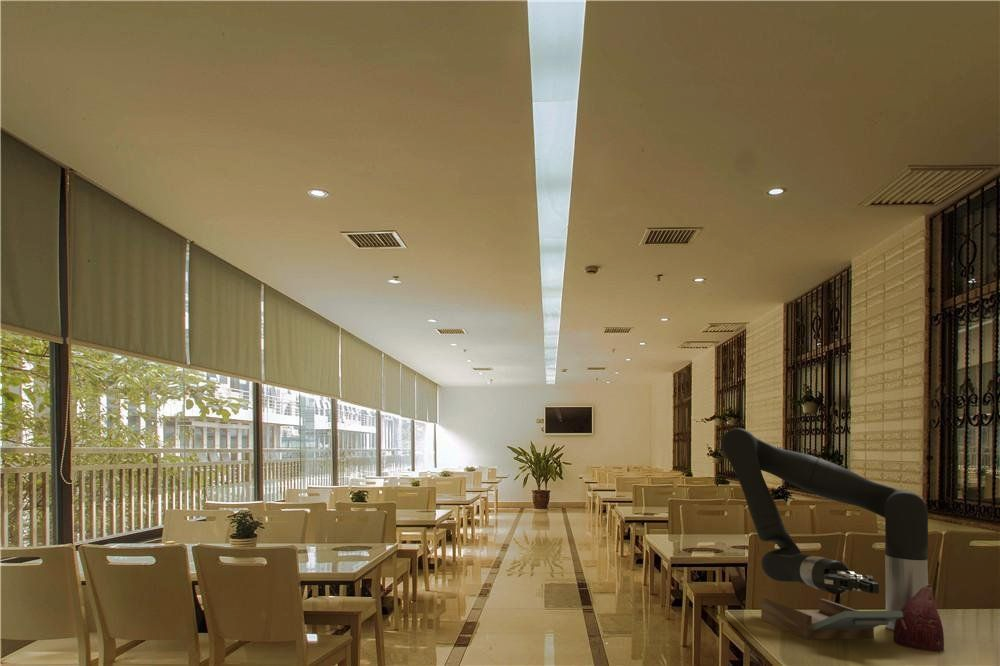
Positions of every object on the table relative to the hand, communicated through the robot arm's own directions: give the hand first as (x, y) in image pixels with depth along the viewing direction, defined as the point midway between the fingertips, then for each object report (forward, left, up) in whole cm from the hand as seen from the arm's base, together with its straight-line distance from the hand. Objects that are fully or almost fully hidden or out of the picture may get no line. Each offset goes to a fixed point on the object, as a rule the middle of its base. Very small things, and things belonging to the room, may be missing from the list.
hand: (876, 588), depth 168 cm
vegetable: (-16, -6, -14) cm, 22 cm away
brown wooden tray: (0, -20, -13) cm, 24 cm away
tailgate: (0, -11, -11) cm, 16 cm away
